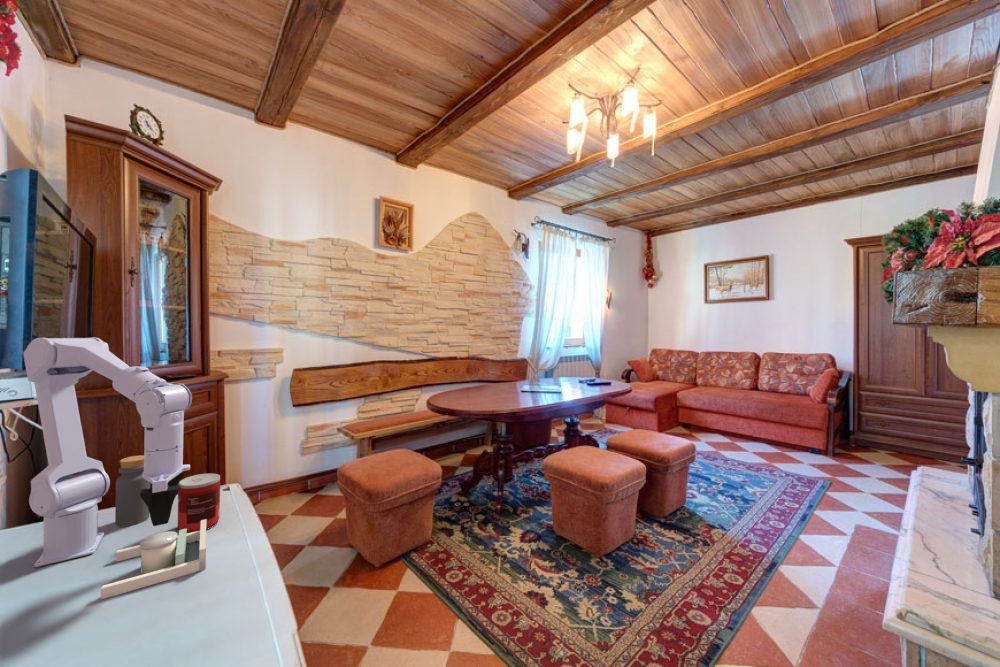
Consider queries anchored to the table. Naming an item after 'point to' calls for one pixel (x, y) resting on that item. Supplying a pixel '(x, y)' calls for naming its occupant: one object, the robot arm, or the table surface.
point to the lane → (160, 574)
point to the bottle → (131, 492)
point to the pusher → (181, 547)
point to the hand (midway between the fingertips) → (162, 516)
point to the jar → (158, 551)
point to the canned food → (198, 501)
